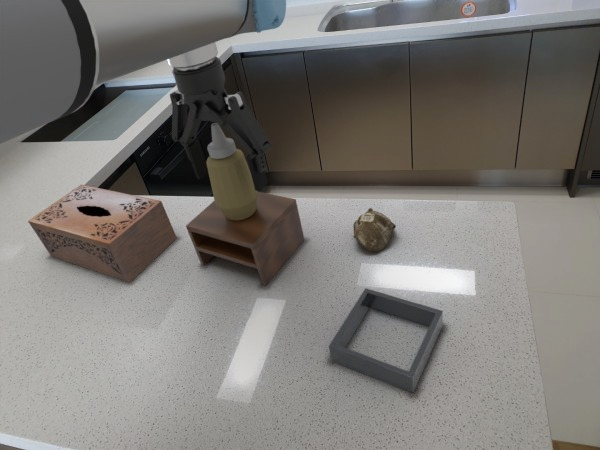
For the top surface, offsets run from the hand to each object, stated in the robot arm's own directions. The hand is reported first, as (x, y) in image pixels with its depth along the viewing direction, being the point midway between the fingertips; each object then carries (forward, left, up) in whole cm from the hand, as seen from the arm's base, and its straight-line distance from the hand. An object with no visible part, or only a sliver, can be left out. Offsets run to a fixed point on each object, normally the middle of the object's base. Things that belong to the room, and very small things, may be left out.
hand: (231, 180), depth 82 cm
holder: (-10, -33, -17) cm, 38 cm away
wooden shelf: (0, 0, -17) cm, 17 cm away
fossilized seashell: (+12, -21, -17) cm, 30 cm away
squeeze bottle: (0, 0, -7) cm, 7 cm away
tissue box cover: (-10, +32, -17) cm, 38 cm away
